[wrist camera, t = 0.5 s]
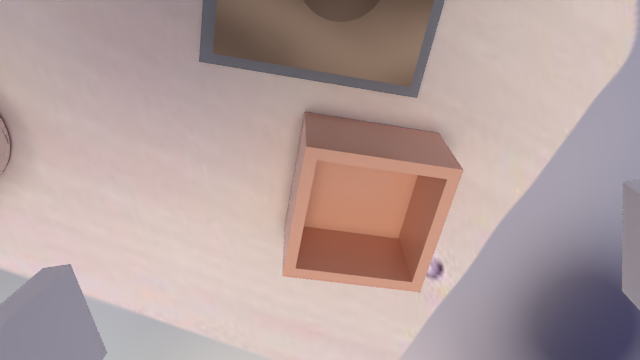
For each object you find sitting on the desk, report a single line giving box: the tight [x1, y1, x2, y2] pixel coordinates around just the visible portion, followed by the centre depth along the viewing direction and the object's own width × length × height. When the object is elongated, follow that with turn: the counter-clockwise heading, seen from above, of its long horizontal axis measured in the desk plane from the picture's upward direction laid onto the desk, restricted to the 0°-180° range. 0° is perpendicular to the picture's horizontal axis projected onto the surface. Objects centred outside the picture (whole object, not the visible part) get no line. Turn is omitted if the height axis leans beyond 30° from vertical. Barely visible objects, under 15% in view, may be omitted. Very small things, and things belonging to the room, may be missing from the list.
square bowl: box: [282, 112, 463, 292], centre depth 35 cm, size 10×10×6 cm
